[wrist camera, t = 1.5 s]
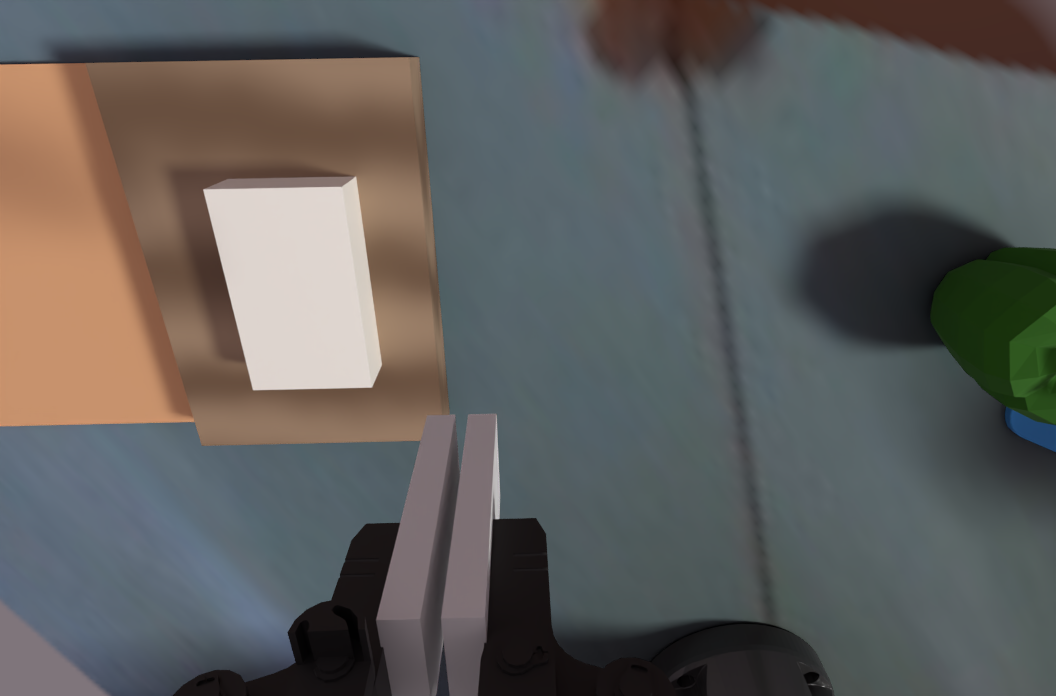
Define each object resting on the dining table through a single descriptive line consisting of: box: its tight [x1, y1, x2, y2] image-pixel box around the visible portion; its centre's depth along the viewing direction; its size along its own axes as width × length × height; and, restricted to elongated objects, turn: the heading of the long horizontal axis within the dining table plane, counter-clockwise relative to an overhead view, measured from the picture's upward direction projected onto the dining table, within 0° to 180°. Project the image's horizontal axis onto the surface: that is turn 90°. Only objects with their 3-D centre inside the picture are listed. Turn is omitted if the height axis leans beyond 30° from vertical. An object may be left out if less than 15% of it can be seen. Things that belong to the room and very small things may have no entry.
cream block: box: [203, 176, 382, 390], centre depth 29 cm, size 10×6×2 cm, turn 1°
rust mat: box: [0, 63, 195, 426], centre depth 33 cm, size 20×16×1 cm
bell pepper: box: [930, 247, 1056, 425], centre depth 30 cm, size 8×8×10 cm
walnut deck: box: [85, 57, 449, 446], centre depth 32 cm, size 20×14×3 cm
